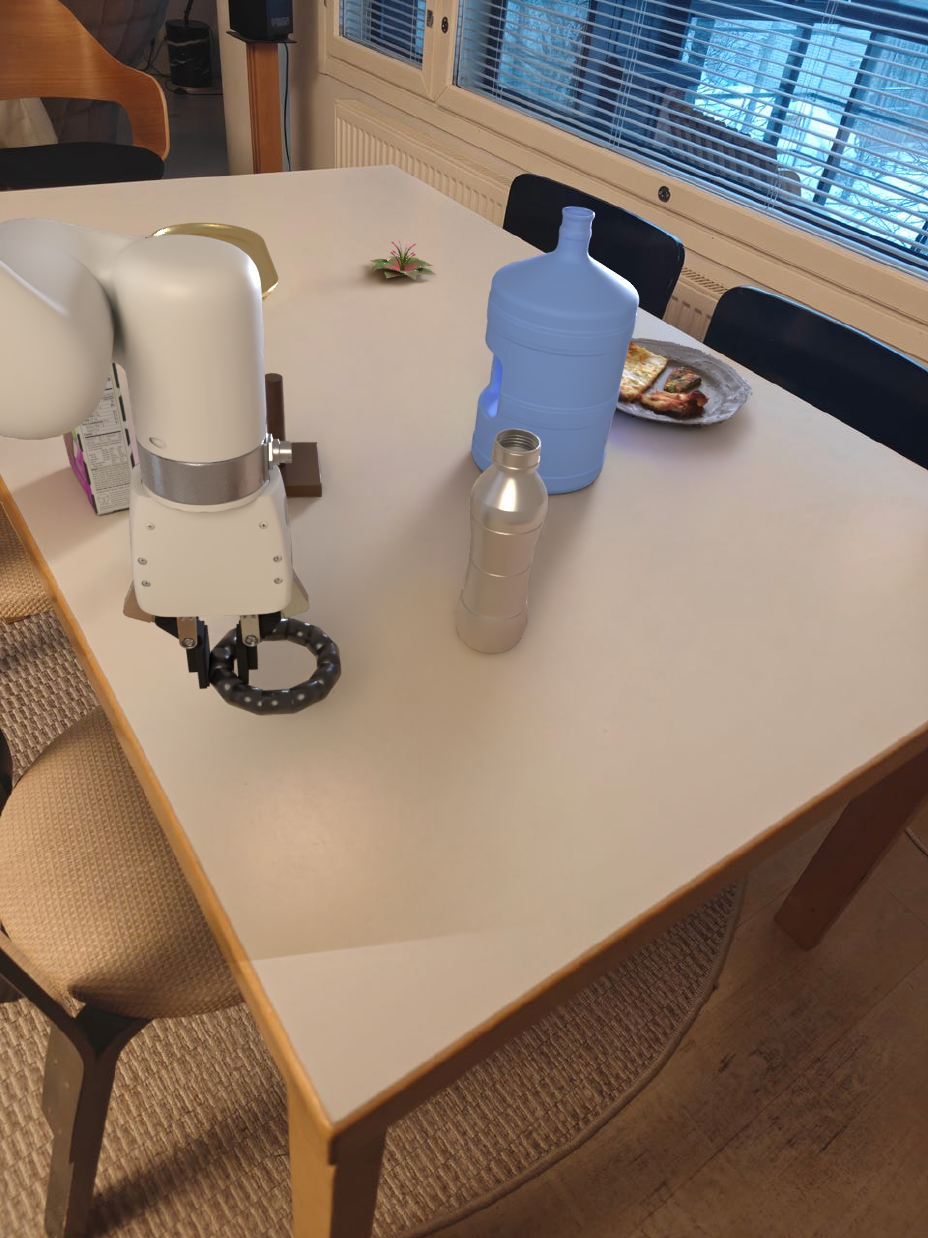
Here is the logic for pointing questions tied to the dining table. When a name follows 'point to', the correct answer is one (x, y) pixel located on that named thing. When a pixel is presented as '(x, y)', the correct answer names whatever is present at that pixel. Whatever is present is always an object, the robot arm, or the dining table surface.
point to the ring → (277, 699)
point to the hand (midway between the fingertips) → (224, 673)
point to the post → (305, 465)
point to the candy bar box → (104, 452)
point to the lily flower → (402, 265)
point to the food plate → (678, 385)
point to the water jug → (557, 356)
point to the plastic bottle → (502, 543)
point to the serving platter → (237, 237)
